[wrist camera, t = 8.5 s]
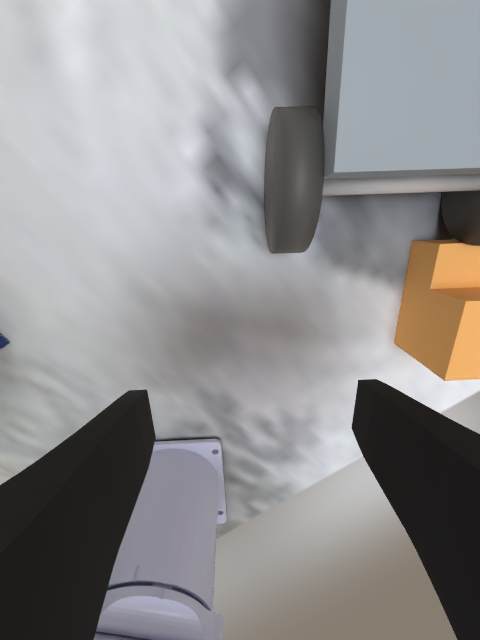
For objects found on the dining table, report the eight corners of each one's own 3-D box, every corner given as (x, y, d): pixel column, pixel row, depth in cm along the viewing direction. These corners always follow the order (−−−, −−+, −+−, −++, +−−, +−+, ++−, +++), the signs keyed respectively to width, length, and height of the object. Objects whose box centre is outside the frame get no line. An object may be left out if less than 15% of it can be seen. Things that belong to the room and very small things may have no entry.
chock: (447, 339, 19) (516, 377, 15) (392, 341, 19) (444, 380, 15) (473, 238, 17) (566, 245, 12) (410, 240, 17) (480, 248, 12)
